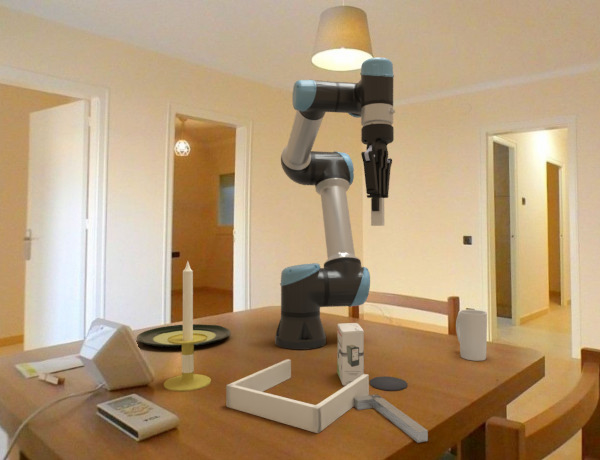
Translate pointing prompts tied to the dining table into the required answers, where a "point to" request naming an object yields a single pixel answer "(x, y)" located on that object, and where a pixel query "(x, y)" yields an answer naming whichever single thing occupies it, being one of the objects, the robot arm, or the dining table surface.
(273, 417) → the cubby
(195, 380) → the candle
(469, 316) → the mug
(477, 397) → the dining table surface
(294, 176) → the robot arm
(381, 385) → the dark grey disc
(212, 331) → the plate
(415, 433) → the crook tool
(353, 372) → the ink box
